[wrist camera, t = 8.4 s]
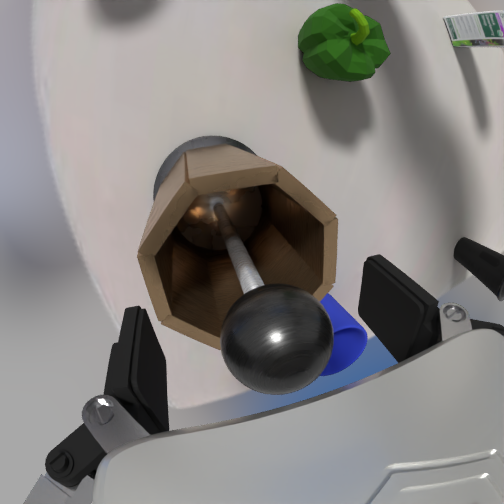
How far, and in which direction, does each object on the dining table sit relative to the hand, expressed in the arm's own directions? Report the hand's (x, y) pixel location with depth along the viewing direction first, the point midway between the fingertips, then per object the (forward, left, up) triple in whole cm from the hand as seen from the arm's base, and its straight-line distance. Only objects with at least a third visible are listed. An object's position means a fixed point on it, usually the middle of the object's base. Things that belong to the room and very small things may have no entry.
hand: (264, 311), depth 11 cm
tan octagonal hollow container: (0, +1, -21) cm, 21 cm away
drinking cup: (-45, +16, -21) cm, 52 cm away
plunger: (0, 0, -15) cm, 15 cm away
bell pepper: (-14, -15, -21) cm, 29 cm away
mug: (-9, +17, -21) cm, 28 cm away
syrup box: (-42, -25, -21) cm, 53 cm away
